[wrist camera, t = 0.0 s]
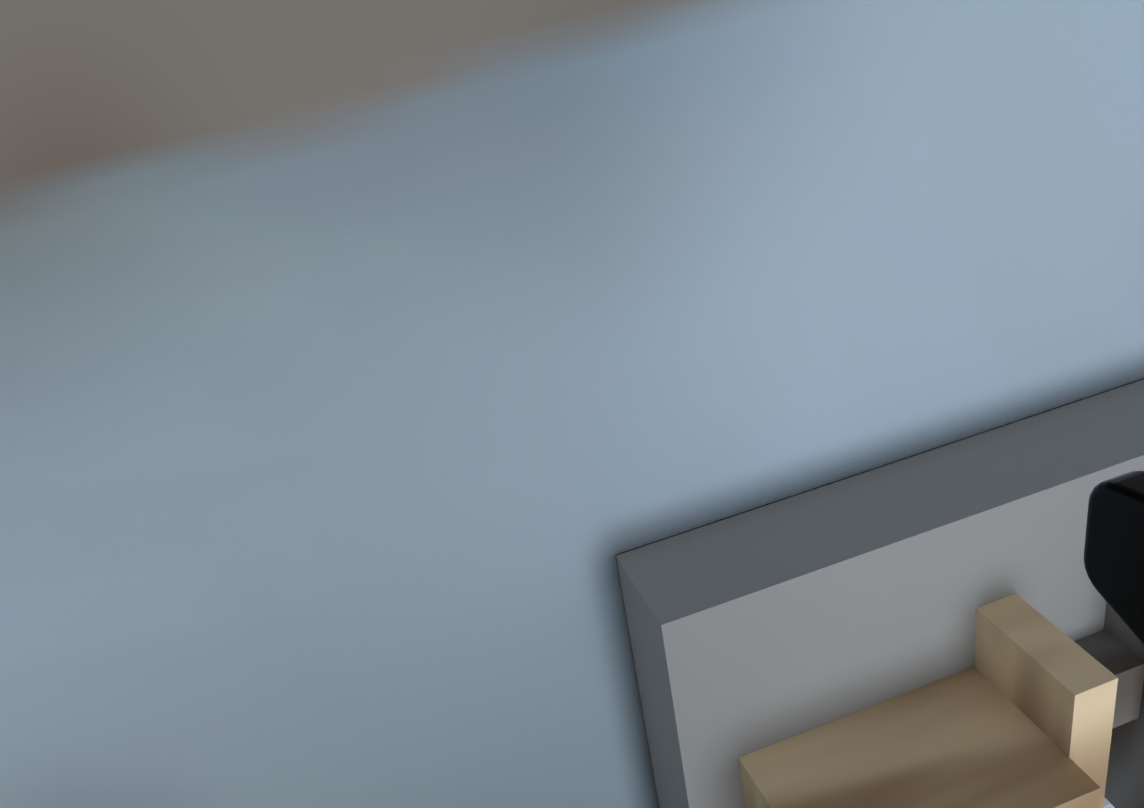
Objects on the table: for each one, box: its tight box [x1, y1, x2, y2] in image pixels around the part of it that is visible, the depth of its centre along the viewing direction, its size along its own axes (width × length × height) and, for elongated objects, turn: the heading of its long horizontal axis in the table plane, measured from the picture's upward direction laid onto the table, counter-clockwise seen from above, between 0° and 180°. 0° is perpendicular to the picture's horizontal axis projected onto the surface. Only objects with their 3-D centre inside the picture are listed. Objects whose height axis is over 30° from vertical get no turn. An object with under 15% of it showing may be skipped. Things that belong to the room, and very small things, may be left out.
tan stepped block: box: [739, 594, 1144, 808], centre depth 26 cm, size 10×12×4 cm
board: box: [616, 379, 1144, 808], centre depth 30 cm, size 13×20×3 cm, turn 100°
